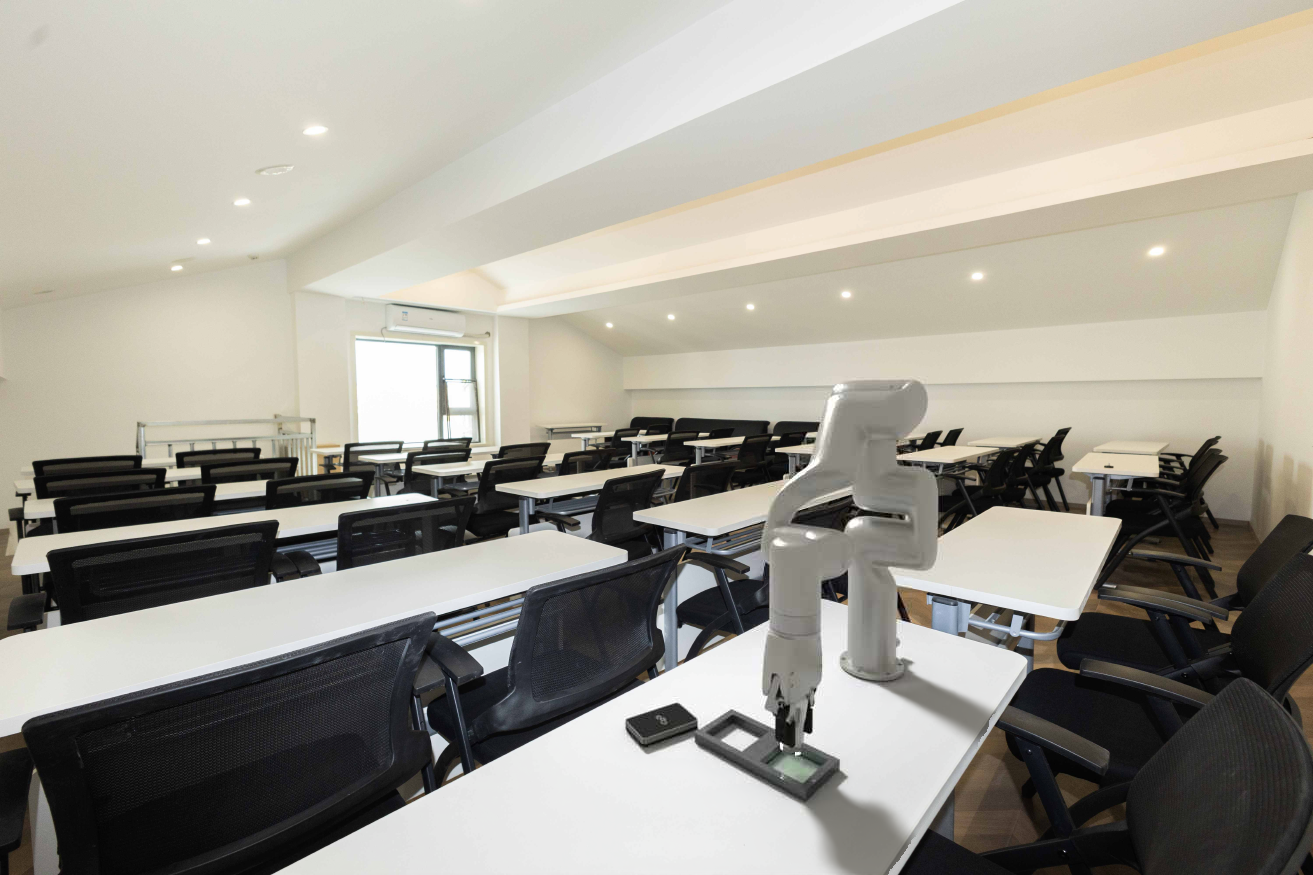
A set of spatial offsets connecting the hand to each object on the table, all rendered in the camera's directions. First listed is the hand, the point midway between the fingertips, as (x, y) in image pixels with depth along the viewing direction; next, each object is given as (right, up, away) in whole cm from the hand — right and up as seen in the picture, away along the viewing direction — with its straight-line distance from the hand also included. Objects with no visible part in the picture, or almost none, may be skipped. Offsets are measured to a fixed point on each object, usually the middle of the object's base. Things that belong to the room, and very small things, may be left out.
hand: (794, 735), depth 90 cm
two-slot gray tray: (-4, -5, +4) cm, 8 cm away
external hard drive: (-20, -6, +12) cm, 24 cm away
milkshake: (0, -3, 0) cm, 3 cm away
